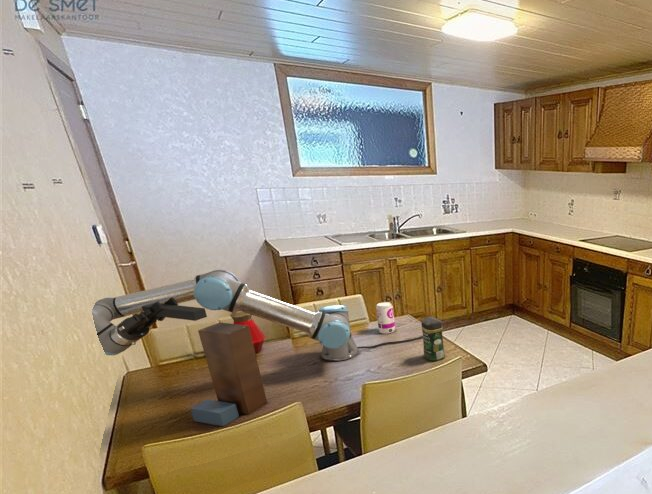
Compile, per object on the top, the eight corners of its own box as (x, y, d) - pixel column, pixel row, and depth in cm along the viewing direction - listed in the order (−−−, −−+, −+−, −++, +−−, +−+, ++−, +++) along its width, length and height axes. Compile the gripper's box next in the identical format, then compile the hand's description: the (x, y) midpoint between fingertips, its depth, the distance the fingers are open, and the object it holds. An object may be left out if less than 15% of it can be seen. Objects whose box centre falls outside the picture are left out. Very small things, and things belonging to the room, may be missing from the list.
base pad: (194, 421, 143) (190, 408, 142) (210, 411, 149) (207, 399, 147) (223, 426, 141) (219, 413, 139) (239, 416, 146) (235, 403, 145)
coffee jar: (421, 355, 195) (418, 317, 188) (437, 351, 200) (434, 314, 193) (431, 363, 188) (428, 323, 181) (447, 358, 193) (444, 319, 186)
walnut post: (220, 409, 150) (197, 330, 140) (239, 398, 158) (219, 322, 147) (248, 414, 148) (228, 333, 137) (267, 402, 155) (248, 325, 144)
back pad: (144, 314, 140) (141, 306, 139) (156, 311, 144) (154, 302, 143) (195, 320, 136) (193, 311, 135) (207, 316, 139) (204, 308, 138)
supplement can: (398, 329, 225) (395, 302, 220) (388, 335, 218) (385, 307, 213) (385, 327, 228) (382, 301, 223) (375, 333, 221) (372, 305, 215)
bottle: (269, 353, 195) (260, 312, 188) (234, 360, 188) (223, 317, 181) (266, 342, 207) (257, 303, 200) (232, 348, 200) (222, 308, 193)
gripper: (163, 331, 155) (199, 305, 147) (110, 349, 140) (147, 321, 131) (149, 313, 154) (185, 286, 146) (94, 329, 138) (131, 300, 130)
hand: (167, 303), depth 139 cm, fingers closed on back pad, 4 cm apart
